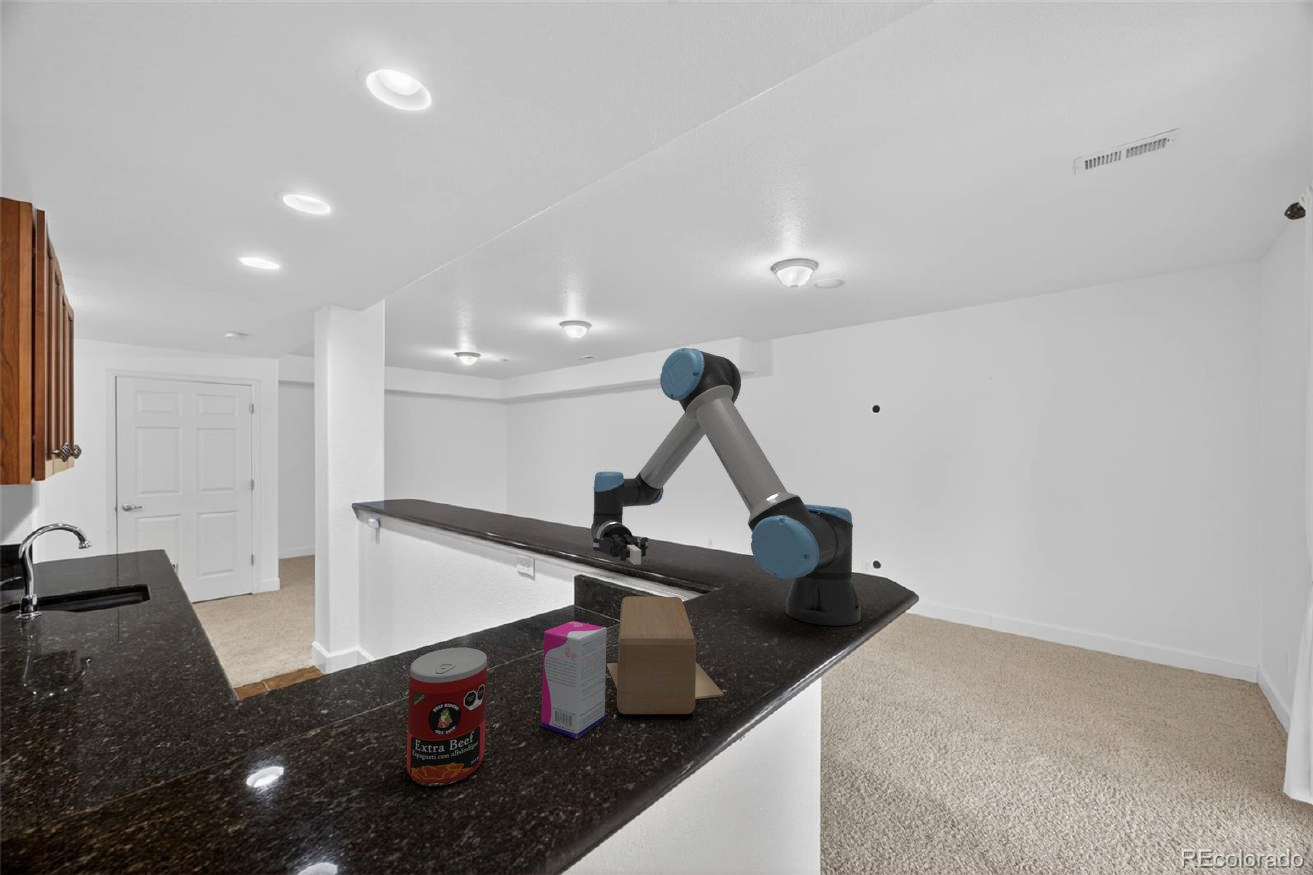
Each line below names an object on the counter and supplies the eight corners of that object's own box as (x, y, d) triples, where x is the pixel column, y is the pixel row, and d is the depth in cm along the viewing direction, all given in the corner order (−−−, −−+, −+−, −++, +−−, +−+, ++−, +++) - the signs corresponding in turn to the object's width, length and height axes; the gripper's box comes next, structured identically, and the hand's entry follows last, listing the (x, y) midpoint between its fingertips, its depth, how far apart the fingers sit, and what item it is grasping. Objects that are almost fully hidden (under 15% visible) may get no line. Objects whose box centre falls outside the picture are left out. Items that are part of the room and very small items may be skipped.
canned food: (399, 795, 51) (403, 679, 51) (413, 750, 58) (416, 650, 59) (483, 782, 53) (486, 671, 53) (485, 741, 61) (488, 644, 61)
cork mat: (691, 658, 87) (691, 656, 87) (723, 696, 73) (723, 693, 73) (606, 665, 83) (606, 663, 83) (624, 706, 69) (624, 704, 69)
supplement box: (606, 718, 66) (608, 626, 67) (576, 740, 61) (578, 640, 62) (570, 707, 69) (572, 618, 70) (539, 726, 64) (541, 631, 64)
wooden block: (681, 656, 86) (696, 717, 66) (620, 656, 86) (616, 717, 66) (682, 595, 87) (697, 637, 67) (621, 594, 86) (618, 636, 66)
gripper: (640, 553, 128) (668, 575, 105) (587, 555, 125) (604, 578, 102) (641, 522, 128) (669, 537, 106) (588, 523, 125) (605, 539, 102)
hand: (637, 557), depth 104 cm, fingers closed
